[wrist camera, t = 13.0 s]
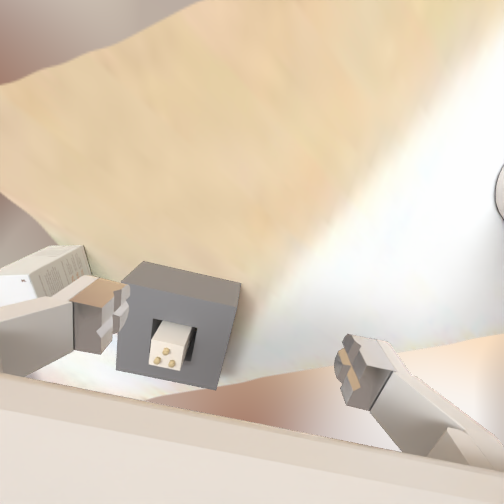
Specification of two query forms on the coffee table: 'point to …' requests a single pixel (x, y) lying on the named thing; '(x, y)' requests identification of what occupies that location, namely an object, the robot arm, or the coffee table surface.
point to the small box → (42, 273)
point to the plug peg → (170, 345)
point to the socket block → (181, 312)
